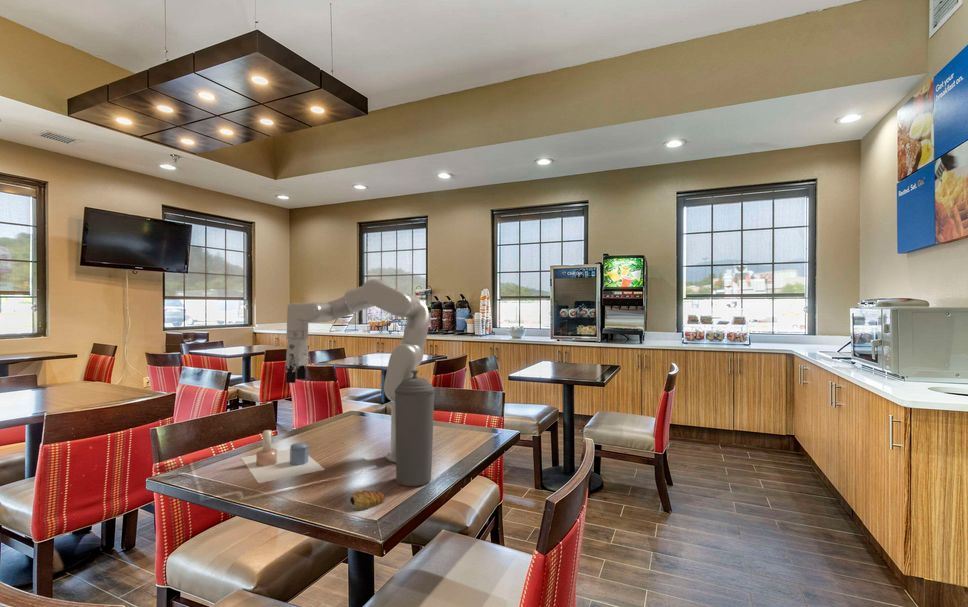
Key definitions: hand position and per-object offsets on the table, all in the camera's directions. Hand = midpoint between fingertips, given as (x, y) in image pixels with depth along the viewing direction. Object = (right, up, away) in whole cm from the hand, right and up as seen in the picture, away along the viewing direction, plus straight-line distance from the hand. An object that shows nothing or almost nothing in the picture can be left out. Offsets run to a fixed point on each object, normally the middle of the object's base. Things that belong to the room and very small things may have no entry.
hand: (296, 380), depth 167 cm
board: (+1, -27, -15) cm, 31 cm away
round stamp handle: (-4, -26, -15) cm, 30 cm away
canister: (+49, -27, -28) cm, 62 cm away
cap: (+7, -26, -14) cm, 30 cm away
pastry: (+38, -27, -45) cm, 65 cm away
